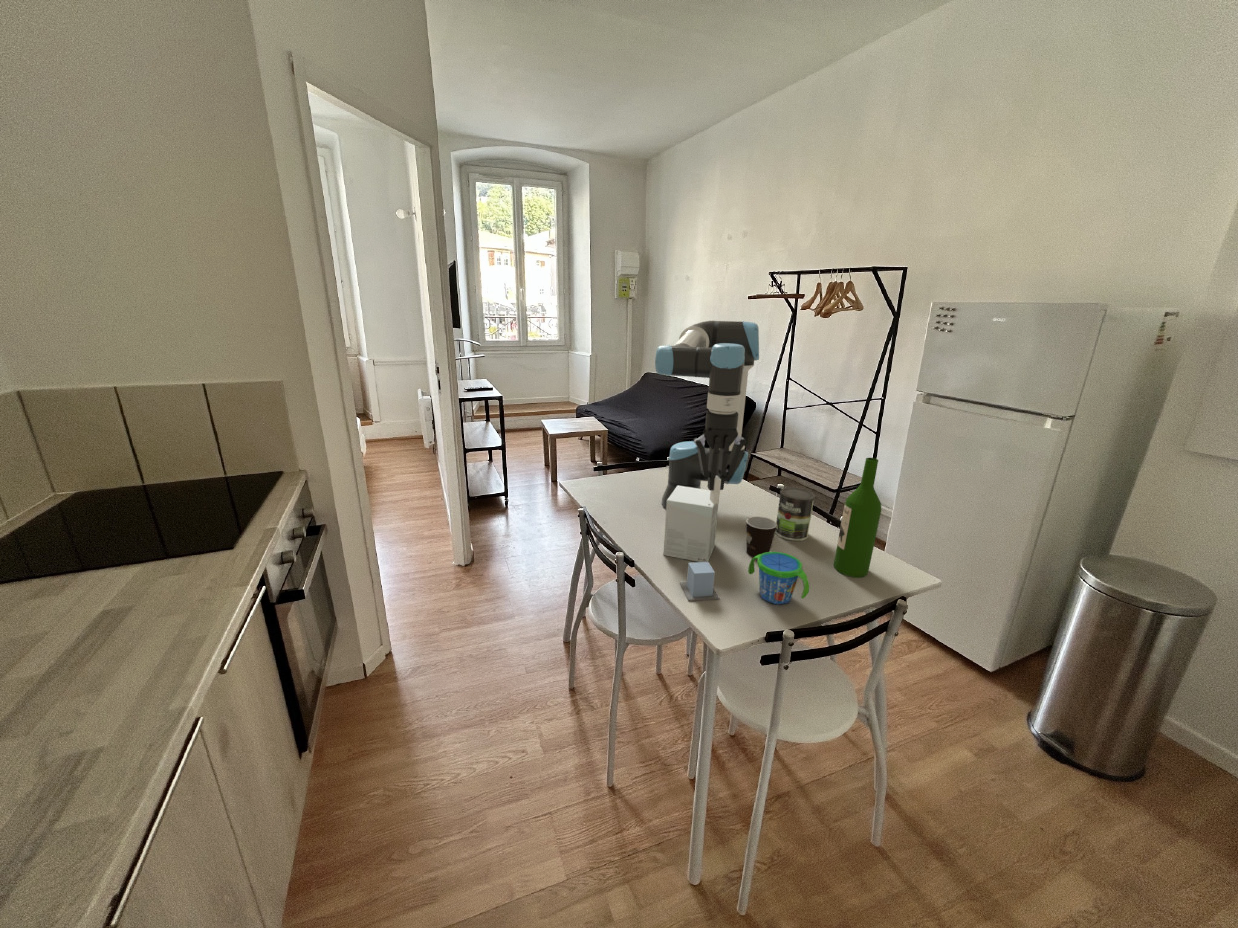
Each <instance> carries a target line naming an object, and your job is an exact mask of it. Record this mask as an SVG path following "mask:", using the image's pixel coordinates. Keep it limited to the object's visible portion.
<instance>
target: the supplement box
mask: <svg viewBox="0 0 1238 928" xmlns="http://www.w3.org/2000/svg"><path fill="white" fill-rule="evenodd" d="M665 510H666V511H665V525H664V526H665V527H664V540H663V552H662V553H663V555H664V556H667V557H673V558H678V559H684V560H688V561H691V562H692V561H693V562H709V560H710V558H711V555H712V553H713V549H714V547H715V545H716V544H715V543H716V532H717V523H718V513H719V503H718V504H713V503H712V502H711V500H710V490H709V489H703V488H701V489H698V488H691V487H684V486H678V485H677V487H676V488H675V490H674V491H673V493H672V494H671V495H670V497H669V498H668V499H667V504H666V508H665Z"/></svg>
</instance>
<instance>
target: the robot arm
mask: <svg viewBox="0 0 1238 928" xmlns="http://www.w3.org/2000/svg"><path fill="white" fill-rule="evenodd" d="M759 335H760V331H759V325H758V323H755V322H750V321H744V320H743V321H730V320H729V321H728V320H707V321H700V322H697V323H694V324H692V325H690V326H688V327H686V328H685V329H683V331H682V332H681V333H680V335H679V337H678V341H676V342H675V343H674V344H673V345H671V344H667V345H659V346H658V347H657V348H656V352H655V359H654V361H655V362H654V367H655V368H654V369H655V371H656V373H657V374H658V375H662V376H668V377H670V376H672V377H687V378H704V379H708V380H709V381H708V391H707V401H706V408H707V409H708V410H707V411H706V415H705V416H706V417H705V426H704V427H705V428H704V429H703V432H702V435H700V436H699V437H698V438H697V437H695V438H693V440H691V441H690V440H689V441H681V442H678V443H677V442H676V443H675V444H673V445H672V446H671V447H670V450H669V457H668V461H669V462H668V474H667V475H668V476H667V485H666V488H665V490H664V492H663V495H662V498H661V505H662V507H663V508H664V509H666V504H667V499H668V498H669V497H670V495H671V494H672V493H673V491H674V490H675V488H676V487H677V485H678V486H684V487H691V488H698V489H702V487H701V482H707V486H706V487H707V490H710V500H711V502H712V503H713V504H718V505H719V503H720V495H721V491H723V490H724V487H725V484H726V485H739V484H741V483H742V481H743V478H744V474H745V471H746V467H747V462H748V458H749V452H748V451H746V450H745V448H746V446H745V445H746V444H747V439H745V438H744V437H743V436H742V434H743V424H744V415H745V414H744V413H745V407H746V396H747V386H748V377H749V370H750V369H752V368H753V367H754V366H755V361H759V360H760V341H759V340H760V339H759V337H760V336H759ZM705 442H707V444H708V446H709V447H705V444H706V443H705Z"/></svg>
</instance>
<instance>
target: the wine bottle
mask: <svg viewBox="0 0 1238 928" xmlns="http://www.w3.org/2000/svg"><path fill="white" fill-rule="evenodd" d="M878 463H879V459H878V458H874V457H866V458H865V460H864V466H863V471H862V475H861V476H862V477H861V480H860V484H859V486H858V487H857V488H856V489H854V491H853V492H852V493H851V494H849V495H848V496H847V497H846V500H845V502H844V506H843V510H842V511H843V513H842V516H841V517H842V518H841V522H840V528H839V533H838V537H837V538H838V539H837V545H836V548H835V549H836V550H835V555H834V560H833V567H834V569H835V570H836V572H838V573H840V574H841V575H844V576H847V577H852V578H865V577H867V575H868V574H869V569H870V567H871V566H870V565H871V561H872V558H873V557H872V556H873V551H874V547H875V543H876V538H877V537H876V536H877V534H878V533H877V532H878V527H879V523H880V519H881V514H882V502H881V500H880V498H879V497H878V496H879V495H878V494H877V492H876V490H875V481H876V475H877V470H878Z"/></svg>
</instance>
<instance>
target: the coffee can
mask: <svg viewBox="0 0 1238 928" xmlns="http://www.w3.org/2000/svg"><path fill="white" fill-rule="evenodd" d="M815 497H816V495H815V493H813V492H812V491H809V490H807V489H805V488H804V489H803V488H799V487H784V488H781V489H780V490H779V500H778V507H777V514H776V515H777V516H776V521H775V522H776V523H777V527H776V531H775V534H776V535H777V537H780V538H781V539H782V538H783V539H785V540H788V541H793V542H795V541H796V542H799V541H801V542H803V541H805V540H807V539H808V537H809V530H810V524H811V518H812V513H813V506H814V501H815Z"/></svg>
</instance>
